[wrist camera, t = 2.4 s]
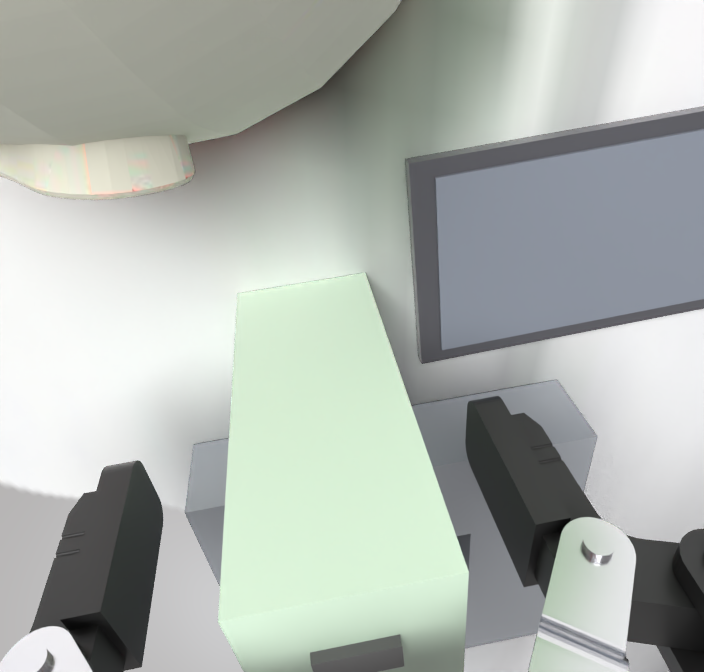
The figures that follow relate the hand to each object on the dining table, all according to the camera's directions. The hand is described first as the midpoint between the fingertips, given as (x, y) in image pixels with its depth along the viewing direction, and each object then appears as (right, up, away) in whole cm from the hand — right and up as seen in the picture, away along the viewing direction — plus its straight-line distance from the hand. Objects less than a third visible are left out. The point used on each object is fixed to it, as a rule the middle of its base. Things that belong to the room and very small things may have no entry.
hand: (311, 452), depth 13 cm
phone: (+9, +7, +4) cm, 12 cm away
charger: (0, +3, +4) cm, 5 cm away
